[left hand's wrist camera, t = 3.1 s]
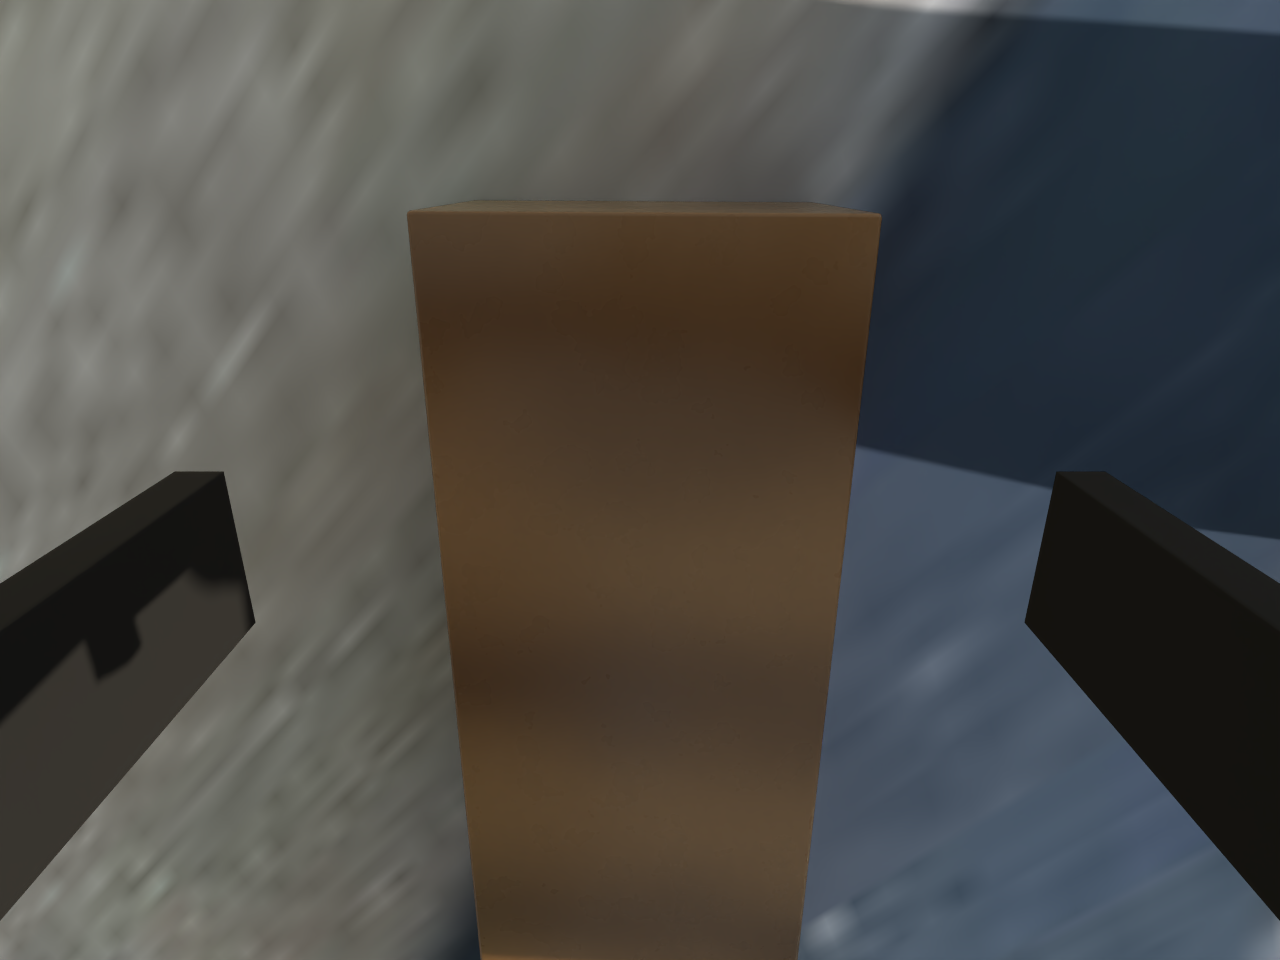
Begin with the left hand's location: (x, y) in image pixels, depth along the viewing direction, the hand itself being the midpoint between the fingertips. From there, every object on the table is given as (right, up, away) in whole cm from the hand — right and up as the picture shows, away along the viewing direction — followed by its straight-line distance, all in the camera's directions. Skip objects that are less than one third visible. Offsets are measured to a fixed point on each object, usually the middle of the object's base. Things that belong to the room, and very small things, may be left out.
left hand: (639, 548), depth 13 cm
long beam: (0, -25, +22) cm, 34 cm away
